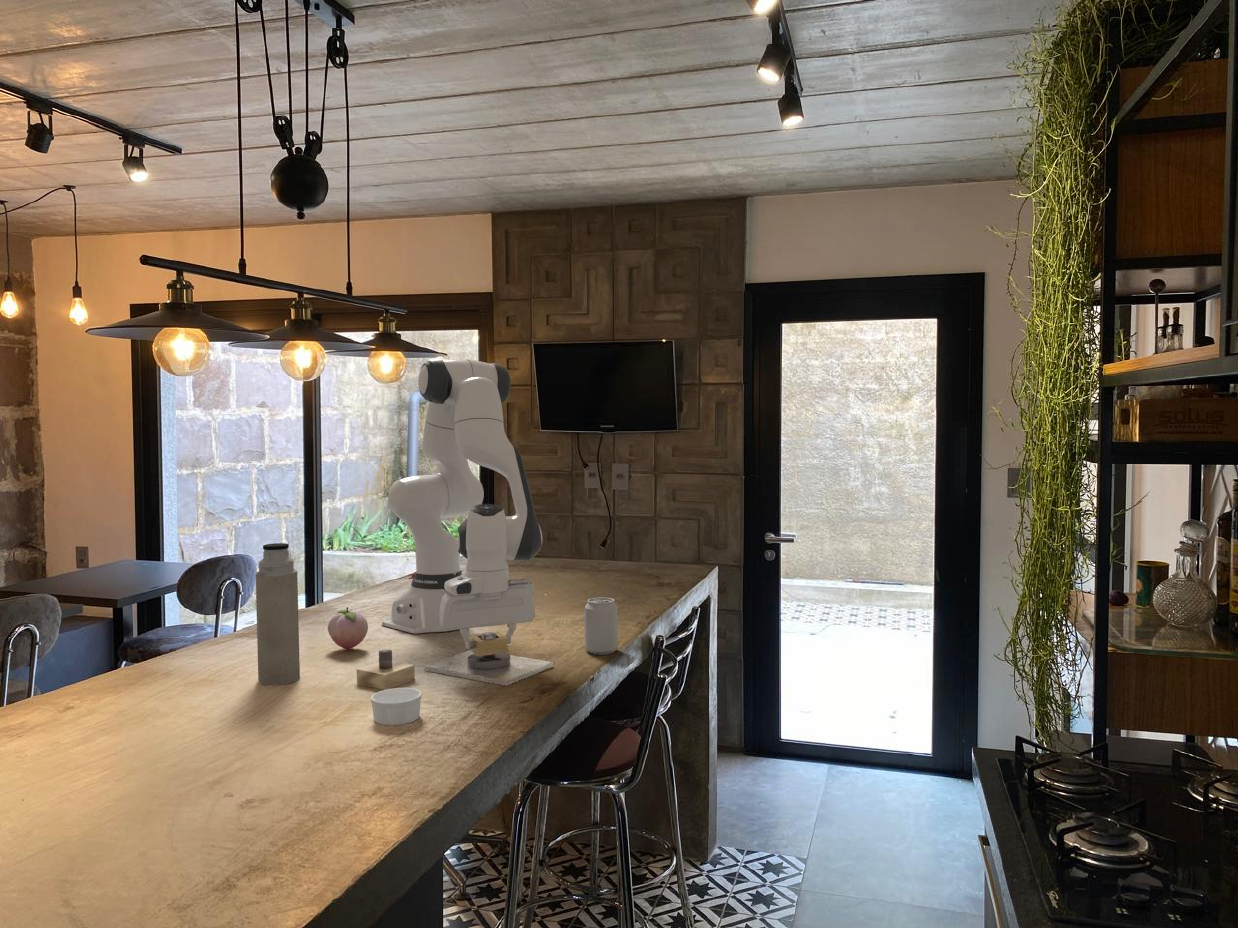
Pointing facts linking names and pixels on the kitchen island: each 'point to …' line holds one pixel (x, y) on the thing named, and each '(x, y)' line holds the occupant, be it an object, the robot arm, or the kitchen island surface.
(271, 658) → the thermos bottle
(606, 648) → the can
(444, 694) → the kitchen island surface
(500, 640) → the tan square hollow frame
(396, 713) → the ramekin
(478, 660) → the stone base with peg
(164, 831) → the kitchen island surface
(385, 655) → the stand
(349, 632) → the decorative fruit
